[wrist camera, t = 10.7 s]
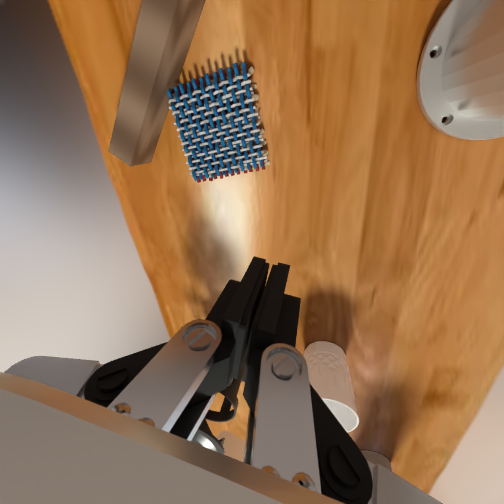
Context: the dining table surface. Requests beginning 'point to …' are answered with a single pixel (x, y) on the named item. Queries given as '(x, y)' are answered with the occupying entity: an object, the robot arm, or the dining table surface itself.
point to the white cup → (332, 381)
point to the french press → (219, 416)
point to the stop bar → (152, 75)
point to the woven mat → (219, 124)
